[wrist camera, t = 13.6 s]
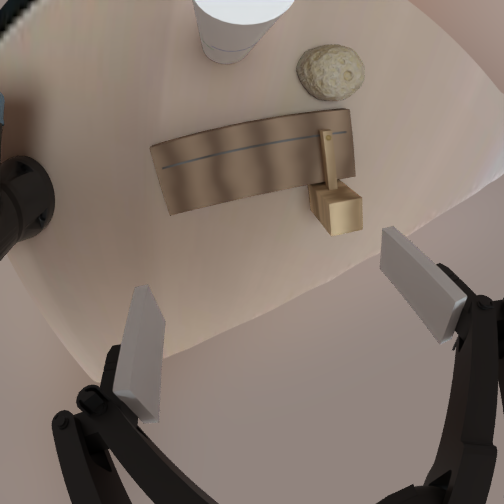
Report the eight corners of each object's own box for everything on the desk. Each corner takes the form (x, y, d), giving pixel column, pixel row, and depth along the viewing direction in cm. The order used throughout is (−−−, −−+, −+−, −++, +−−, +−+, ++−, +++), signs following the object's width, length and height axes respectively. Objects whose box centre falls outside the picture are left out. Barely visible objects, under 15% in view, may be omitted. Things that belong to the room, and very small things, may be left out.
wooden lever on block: (310, 209, 50) (331, 236, 41) (300, 128, 42) (322, 138, 34) (337, 204, 50) (362, 229, 41) (330, 124, 43) (358, 134, 34)
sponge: (343, 82, 43) (381, 55, 33) (334, 122, 41) (378, 95, 32) (297, 53, 40) (332, 18, 30) (282, 91, 38) (321, 54, 29)
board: (171, 209, 46) (169, 215, 44) (152, 145, 41) (149, 148, 39) (349, 172, 47) (355, 176, 45) (342, 108, 41) (349, 109, 39)
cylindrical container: (239, 70, 37) (273, 40, 15) (194, 55, 35) (171, 6, 13) (259, 31, 34) (312, -32, 12) (213, 15, 32) (217, -66, 10)
